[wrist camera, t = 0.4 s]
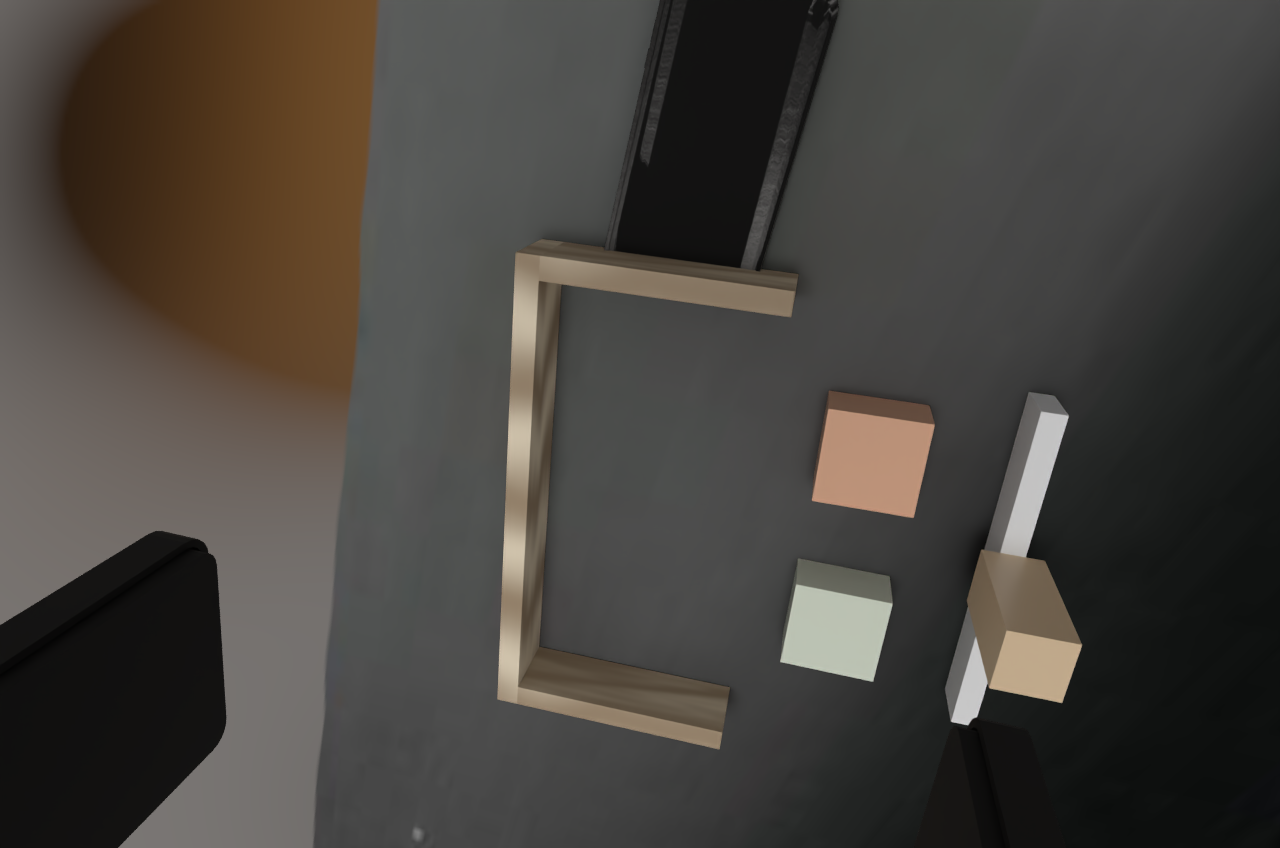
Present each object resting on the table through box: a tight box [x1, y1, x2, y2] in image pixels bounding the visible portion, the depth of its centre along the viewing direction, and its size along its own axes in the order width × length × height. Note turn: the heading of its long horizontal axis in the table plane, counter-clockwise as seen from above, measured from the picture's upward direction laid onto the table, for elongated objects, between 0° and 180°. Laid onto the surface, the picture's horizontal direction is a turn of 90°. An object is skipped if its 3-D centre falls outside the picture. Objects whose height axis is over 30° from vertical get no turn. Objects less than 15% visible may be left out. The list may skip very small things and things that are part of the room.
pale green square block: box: [780, 558, 893, 682], centre depth 48 cm, size 5×5×3 cm
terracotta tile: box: [812, 391, 935, 518], centre depth 44 cm, size 5×5×3 cm
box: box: [498, 239, 799, 749], centre depth 47 cm, size 26×13×4 cm, turn 174°
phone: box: [604, 0, 839, 272], centre depth 41 cm, size 8×1×15 cm
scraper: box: [945, 392, 1082, 725], centre depth 41 cm, size 18×3×10 cm, turn 174°
